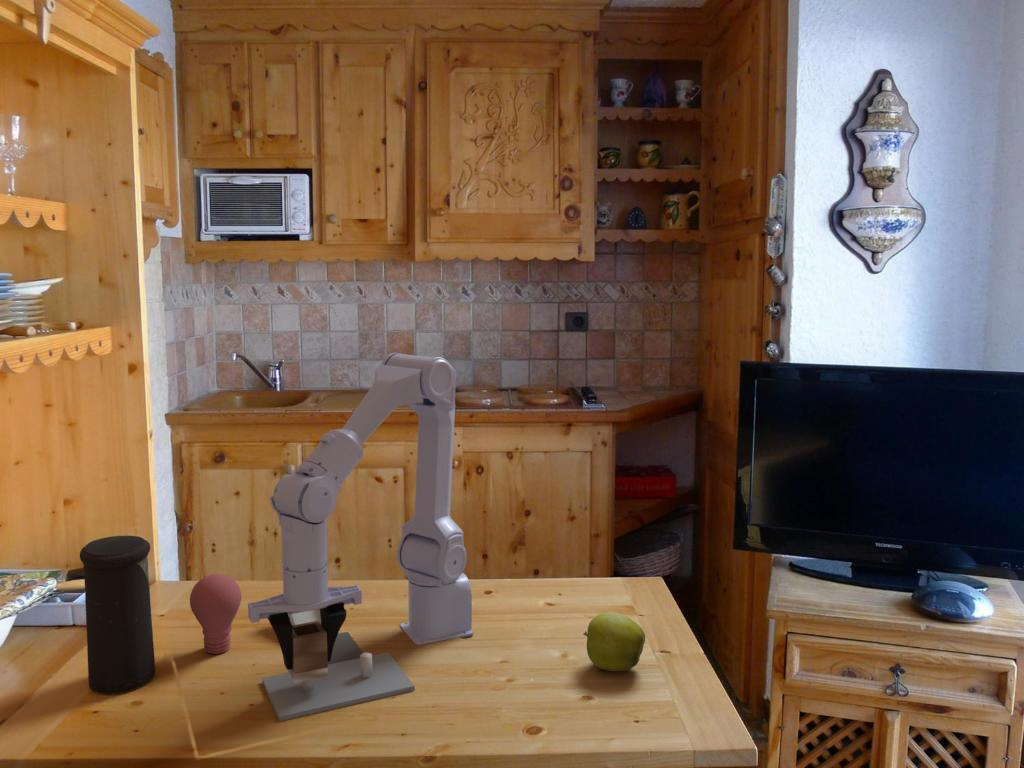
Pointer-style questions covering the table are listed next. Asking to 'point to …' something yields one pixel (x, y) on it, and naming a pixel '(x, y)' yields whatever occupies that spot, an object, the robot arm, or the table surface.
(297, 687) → the pin board
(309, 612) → the feeder chute
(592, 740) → the table surface
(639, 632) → the apple
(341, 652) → the mat
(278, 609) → the robot arm
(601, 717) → the table surface
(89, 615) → the container
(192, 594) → the light bulb
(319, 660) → the sleeve
